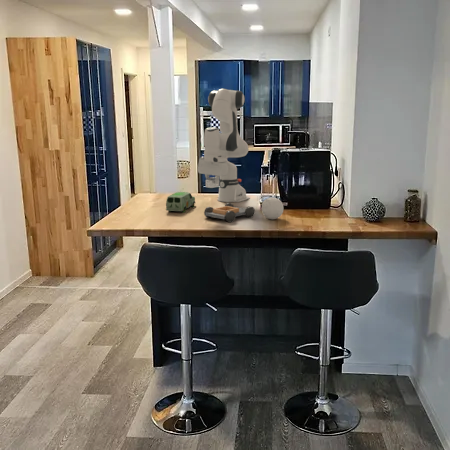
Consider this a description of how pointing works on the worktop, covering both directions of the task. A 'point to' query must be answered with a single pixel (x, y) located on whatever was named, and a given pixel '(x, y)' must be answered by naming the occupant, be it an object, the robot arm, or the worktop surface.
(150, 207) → the worktop surface
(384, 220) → the worktop surface
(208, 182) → the grey wooden block
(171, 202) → the toy car
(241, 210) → the chassis
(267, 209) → the decorative ball
